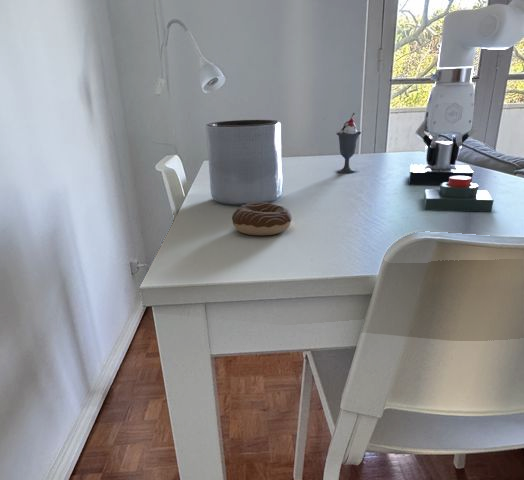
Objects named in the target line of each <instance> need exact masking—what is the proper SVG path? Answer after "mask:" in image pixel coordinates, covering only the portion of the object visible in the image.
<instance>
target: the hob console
mask: <svg viewBox="0 0 524 480" xmlns="http://www.w3.org/2000/svg"><path fill="white" fill-rule="evenodd" d="M431 167H432V166H431V165H426V164H424V165H423V164H419V165H417V164H414V165H413V164H411V165H410V166H409V175H408V185H409V186H440V184H441V183H444V182H449V177H451V176H467V177H471V183H473V182H472V181H473V177H474V171H473V170H472V168H471V167H470V166H469V165H455V166H450V168H449V169H447V170H436V169H432V168H431Z"/></svg>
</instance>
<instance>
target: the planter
mask: <svg viewBox="0 0 524 480" xmlns="http://www.w3.org/2000/svg"><path fill="white" fill-rule="evenodd" d="M205 132H206V144H207V145H206V146H207V157H208V173H209V186H210V195H211V198H212V199H213V200H215V201H216V203H219V204H223V205H228V206H230V205H231V206H243V205H246V204H249V203H273V202H274V201H277V200H278V199H279V198H280V197H281V196H282V195H283V192H284V191H283V190H284V184H283V182H284V181H283V179H284V178H283V149H282V147H283V143H282V142H283V141H282V139H283V137H282V136H283V135H282V134H283V133H282V122H281V121H280V120H278V119H277V120H276V119H238V120H237V119H236V120H234V119H233V120H223V121H222V120H221V121H213V122H208V123H207V124H206V125H205Z"/></svg>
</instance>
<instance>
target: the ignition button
mask: <svg viewBox="0 0 524 480" xmlns="http://www.w3.org/2000/svg"><path fill="white" fill-rule="evenodd" d="M470 183H472V182H471V177H467V176H451V177H449V183H448V186H452V187H470Z"/></svg>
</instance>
